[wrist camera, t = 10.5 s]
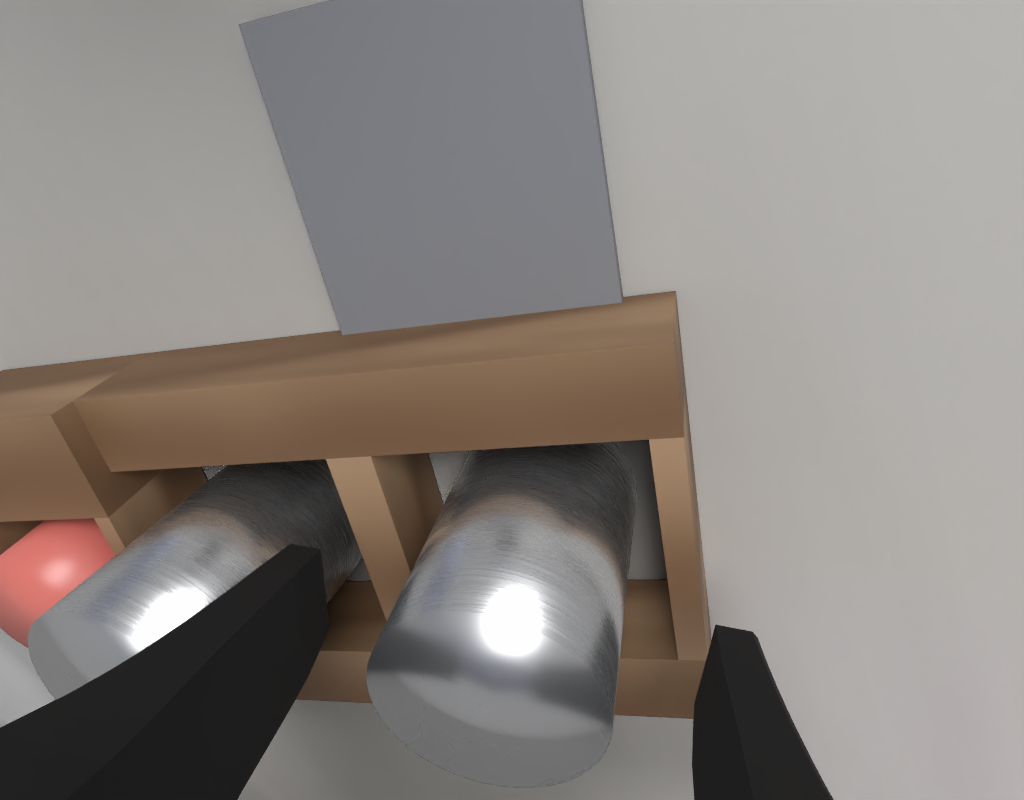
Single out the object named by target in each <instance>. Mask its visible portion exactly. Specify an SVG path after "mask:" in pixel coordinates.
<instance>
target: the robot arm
mask: <svg viewBox="0 0 1024 800" xmlns="http://www.w3.org/2000/svg"><path fill="white" fill-rule="evenodd" d="M329 627H330V626H329V618H328V609H327V600H326V591H325V582H324V574H323V565H322V556H321V549H316V548H311V547H306V546H301V545H295V544H289V545H288V546H287V547H285V548H284V549H282V550H281V551H280V552H278V553H277V554H276V555H274V556H273V557H271V558H270V559H269V560H267V561H266V562H265V563H263V564H262V565H261V566H259V567H258V568H257V569H256V570H254V571H253V572H252V573H250V574H249V575H248V576H246V577H245V578H244V579H242V580H241V581H240V582H238V583H237V584H236V585H234V586H233V587H232V588H230V589H229V590H228V591H226V592H225V593H224V594H222V595H221V596H219V597H218V598H217V599H215V600H214V601H213V602H211V603H210V604H208V605H207V606H206V607H204V608H203V609H201V610H200V611H199V612H197V613H196V614H195V615H193V616H192V617H190V618H189V619H188V620H186V621H185V622H183V623H182V624H180V625H179V626H177V627H176V628H174V629H173V630H171V631H170V632H168V633H167V634H165V635H164V636H162V637H161V638H159V639H158V640H156V641H155V642H153V643H152V644H150V645H149V646H147V647H146V648H144V649H143V650H141V651H140V652H138V653H137V654H135V655H134V656H132V657H130V658H129V659H127V660H126V661H124V662H122V663H121V664H119V665H117V666H116V667H114V668H112V669H111V670H109V671H107V672H106V673H104V674H102V675H100V676H99V677H97V678H95V679H93V680H92V681H90V682H88V683H86V684H85V685H83V686H81V687H79V688H77V689H76V690H74V691H72V692H70V693H68V694H66V695H65V696H63V697H61V698H59V699H57V700H55V701H53V702H51V703H49V704H47V705H45V706H43V707H41V708H39V709H37V710H35V711H33V712H31V713H29V714H27V715H25V716H23V717H21V718H19V719H17V720H15V721H13V722H11V723H9V724H7V725H5V726H3V727H1V728H0V800H237V799H238V798H239V796H240V794H241V792H242V790H243V788H244V787H245V785H246V783H247V782H248V780H249V778H250V776H251V775H252V773H253V771H254V770H255V768H256V766H257V765H258V763H259V761H260V759H261V758H262V756H263V754H264V753H265V751H266V749H267V748H268V746H269V744H270V742H271V741H272V739H273V737H274V736H275V734H276V732H277V730H278V729H279V727H280V725H281V724H282V722H283V720H284V719H285V717H286V715H287V713H288V712H289V710H290V708H291V706H292V705H293V703H294V701H295V699H296V698H297V696H298V694H299V693H300V691H301V689H302V687H303V685H304V684H305V682H306V680H307V678H308V676H309V674H310V672H311V669H312V667H313V665H314V663H315V661H316V658H317V656H318V654H319V651H320V649H321V647H322V644H323V642H324V639H325V637H326V635H327V632H328V630H329ZM692 769H693V784H694V799H695V800H833V798H832V796H831V794H830V793H829V791H828V789H827V787H826V786H825V784H824V782H823V780H822V778H821V776H820V774H819V772H818V771H817V769H816V767H815V765H814V763H813V761H812V759H811V757H810V755H809V753H808V751H807V749H806V747H805V745H804V743H803V741H802V739H801V737H800V735H799V733H798V731H797V729H796V727H795V725H794V723H793V721H792V719H791V717H790V714H789V712H788V710H787V708H786V706H785V704H784V701H783V699H782V697H781V695H780V692H779V690H778V688H777V686H776V683H775V681H774V678H773V676H772V674H771V671H770V669H769V666H768V664H767V661H766V659H765V656H764V654H763V651H762V649H761V646H760V643H759V640H758V638H757V637H756V635H755V634H754V633H753V632H751V631H746V630H740V629H735V628H730V627H725V626H719V625H716V626H715V629H714V633H713V637H712V640H711V644H710V648H709V651H708V655H707V659H706V662H705V666H704V669H703V673H702V677H701V680H700V684H699V688H698V691H697V695H696V699H695V702H694V721H693V751H692Z"/></svg>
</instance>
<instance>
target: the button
mask: <svg viewBox="0 0 1024 800" xmlns="http://www.w3.org/2000/svg"><path fill="white" fill-rule="evenodd" d="M114 556H115V554H114V552H113V551H112V549H111V547H110V545H109V544H108V542H107V540H106V538H105V537H104V535H103V533H102V531H101V530H100V528H99V526H98V525H97V523H96V521H95V519H94V518H88V519H62V520H44V521H43V522H41V523H40V524H39V525H38V526H36V527H35V528H34V529H33V530H31V531H30V532H29V533H28V534H26V535H25V536H24V537H23V538H21V539H20V540H19V541H18V542H16V543H15V544H14V545H13V546H11V547H10V548H9V549H7V550H6V551H5V552H4V553H2V554H1V555H0V628H1V629H3V630H4V631H5V632H6V633H7V634H8V635H10V636H11V637H12V638H14V639H15V640H16V641H18V642H19V643H21V644H23V645H24V646H26V647H28V634H29V630H30V628H31V625H32V624H33V623H34V622H35V620H36V619H38V618H39V617H40V616H41V615H43V614H44V613H45V612H46V611H47V610H49V609H50V608H51V607H52V606H54V605H55V604H56V603H57V602H59V601H60V600H61V599H62V598H64V597H65V596H66V595H67V594H69V593H70V592H71V591H72V590H73V589H75V588H76V587H77V586H78V585H80V584H81V583H82V582H83V581H85V580H86V579H87V578H88V577H90V576H91V575H92V574H93V573H95V572H96V571H97V570H98V569H99V568H101V567H102V566H103V565H104V564H106V563H107V562H108V561H109V560H111V559H112V558H113V557H114Z"/></svg>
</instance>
